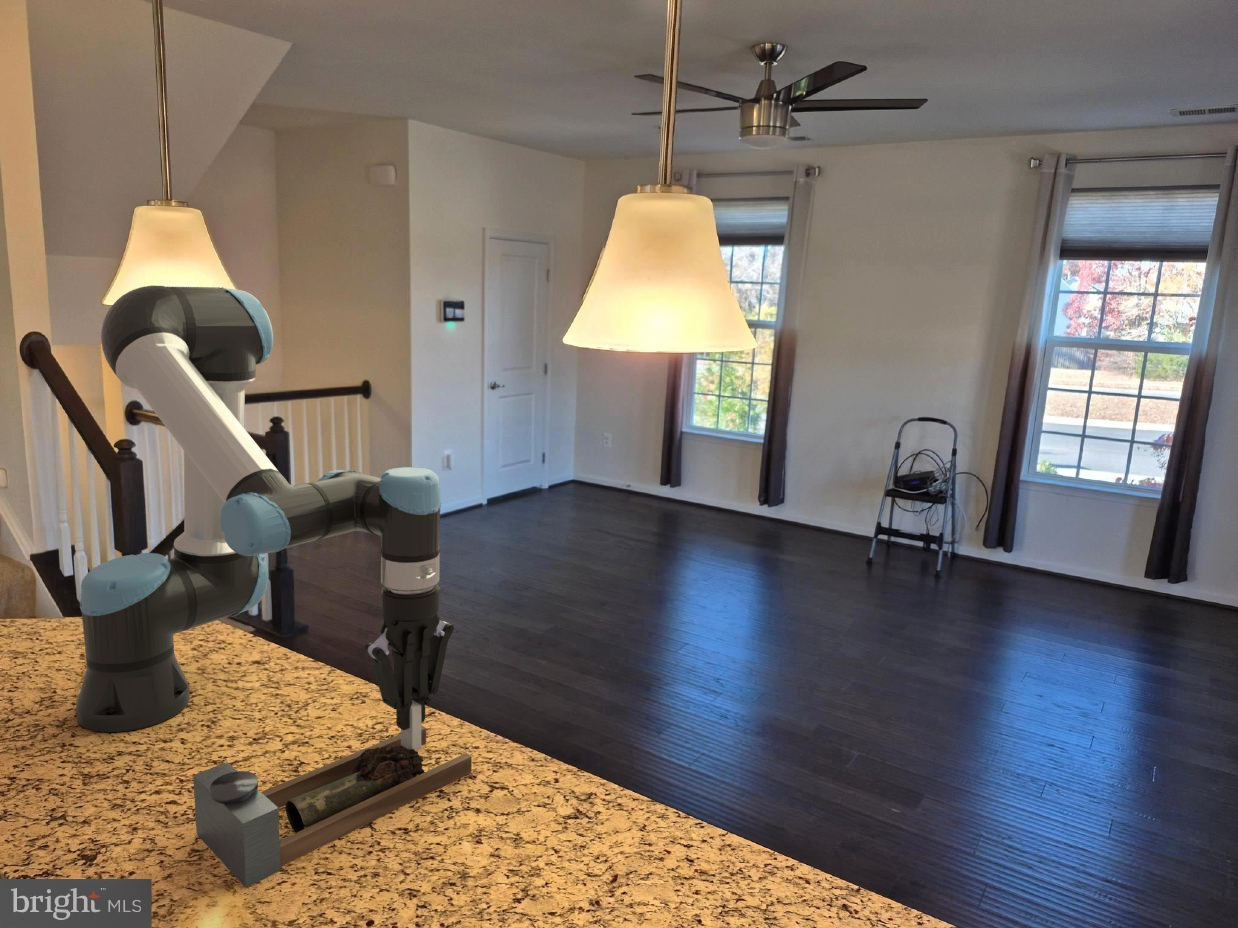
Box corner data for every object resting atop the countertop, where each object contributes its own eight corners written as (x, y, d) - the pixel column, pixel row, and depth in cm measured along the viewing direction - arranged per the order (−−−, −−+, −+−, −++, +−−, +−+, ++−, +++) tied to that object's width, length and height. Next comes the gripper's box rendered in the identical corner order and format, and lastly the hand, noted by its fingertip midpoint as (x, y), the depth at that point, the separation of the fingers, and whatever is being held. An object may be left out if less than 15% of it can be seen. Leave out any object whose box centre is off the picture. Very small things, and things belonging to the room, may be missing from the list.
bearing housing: (192, 836, 100) (188, 768, 98) (234, 818, 104) (230, 752, 102) (241, 889, 92) (238, 817, 90) (284, 868, 95) (282, 797, 94)
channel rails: (232, 822, 103) (231, 804, 102) (421, 740, 124) (421, 724, 123) (278, 867, 95) (277, 848, 95) (471, 772, 116) (471, 756, 116)
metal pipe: (304, 844, 100) (302, 802, 99) (279, 819, 104) (277, 778, 103) (429, 786, 112) (429, 748, 111) (402, 766, 117) (402, 729, 116)
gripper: (384, 604, 103) (385, 776, 108) (467, 580, 113) (465, 739, 117) (351, 588, 108) (354, 753, 112) (433, 567, 117) (433, 719, 122)
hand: (411, 746), depth 115 cm, fingers closed
